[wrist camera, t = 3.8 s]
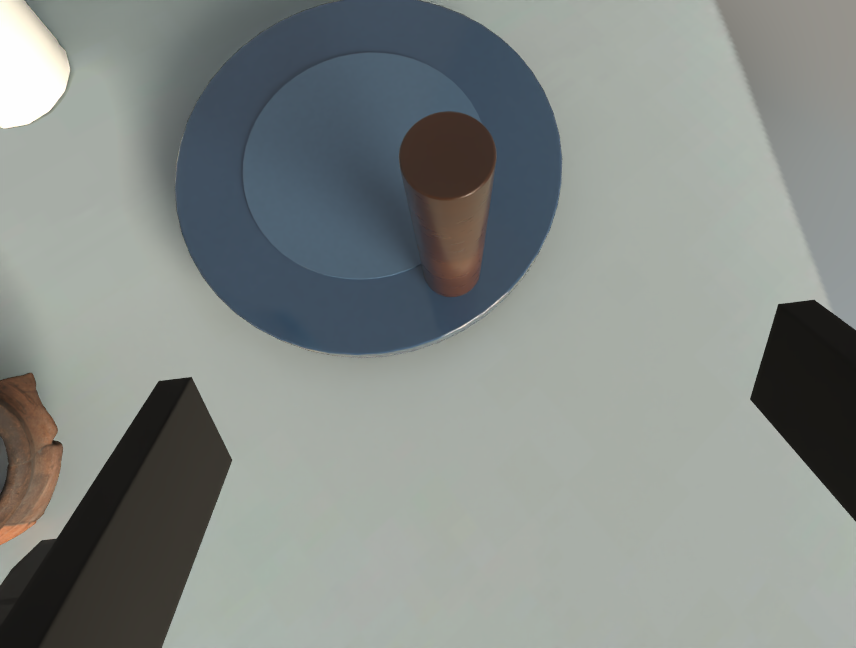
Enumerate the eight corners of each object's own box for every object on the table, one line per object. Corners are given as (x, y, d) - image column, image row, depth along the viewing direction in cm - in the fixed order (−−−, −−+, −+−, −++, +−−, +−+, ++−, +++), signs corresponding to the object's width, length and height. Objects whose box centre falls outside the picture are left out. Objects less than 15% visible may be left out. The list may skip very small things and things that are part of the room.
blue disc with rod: (119, 145, 27) (-111, -47, 16) (407, -49, 28) (376, -346, 17) (319, 441, 23) (195, 453, 12) (640, 199, 24) (785, 18, 13)
